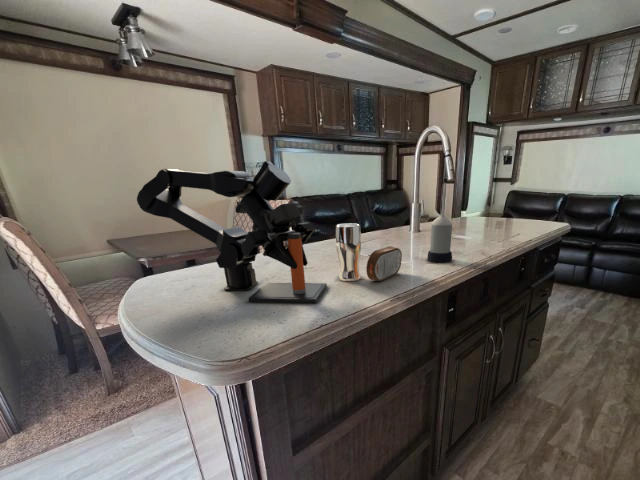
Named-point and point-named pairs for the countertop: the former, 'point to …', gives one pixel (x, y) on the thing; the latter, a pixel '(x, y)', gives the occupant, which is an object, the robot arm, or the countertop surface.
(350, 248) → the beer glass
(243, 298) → the countertop surface
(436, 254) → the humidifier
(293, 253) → the orange cylinder
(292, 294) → the tablet
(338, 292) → the countertop surface
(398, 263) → the tin
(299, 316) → the countertop surface
